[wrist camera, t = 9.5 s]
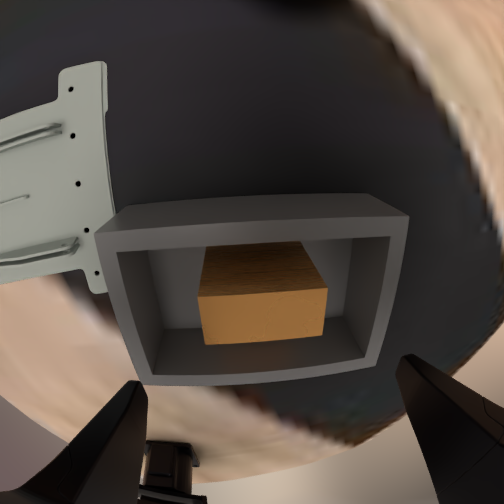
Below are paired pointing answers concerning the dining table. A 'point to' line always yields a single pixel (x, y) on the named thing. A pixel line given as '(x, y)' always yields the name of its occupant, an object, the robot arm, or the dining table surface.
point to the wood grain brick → (260, 293)
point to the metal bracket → (56, 181)
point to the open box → (248, 232)
